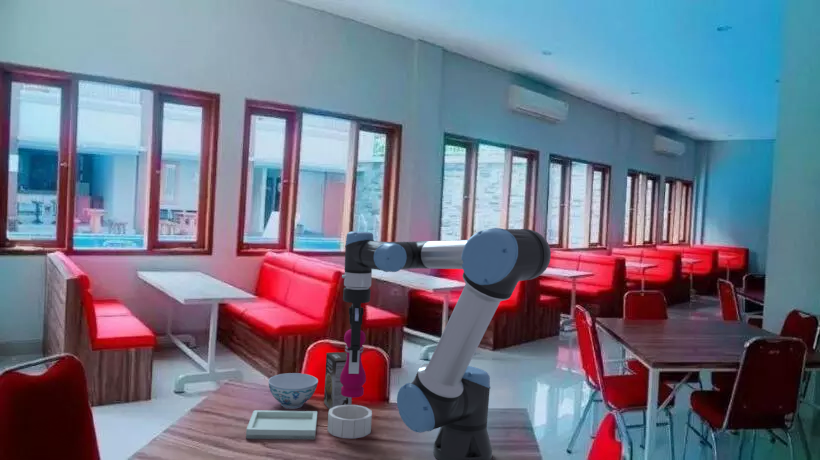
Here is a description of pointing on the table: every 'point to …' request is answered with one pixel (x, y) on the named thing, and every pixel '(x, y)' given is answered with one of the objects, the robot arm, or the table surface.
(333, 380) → the coffee box
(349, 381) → the pepper mill
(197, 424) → the table surface
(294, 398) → the chinaware
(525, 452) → the table surface
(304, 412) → the tray
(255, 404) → the table surface
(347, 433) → the cup
